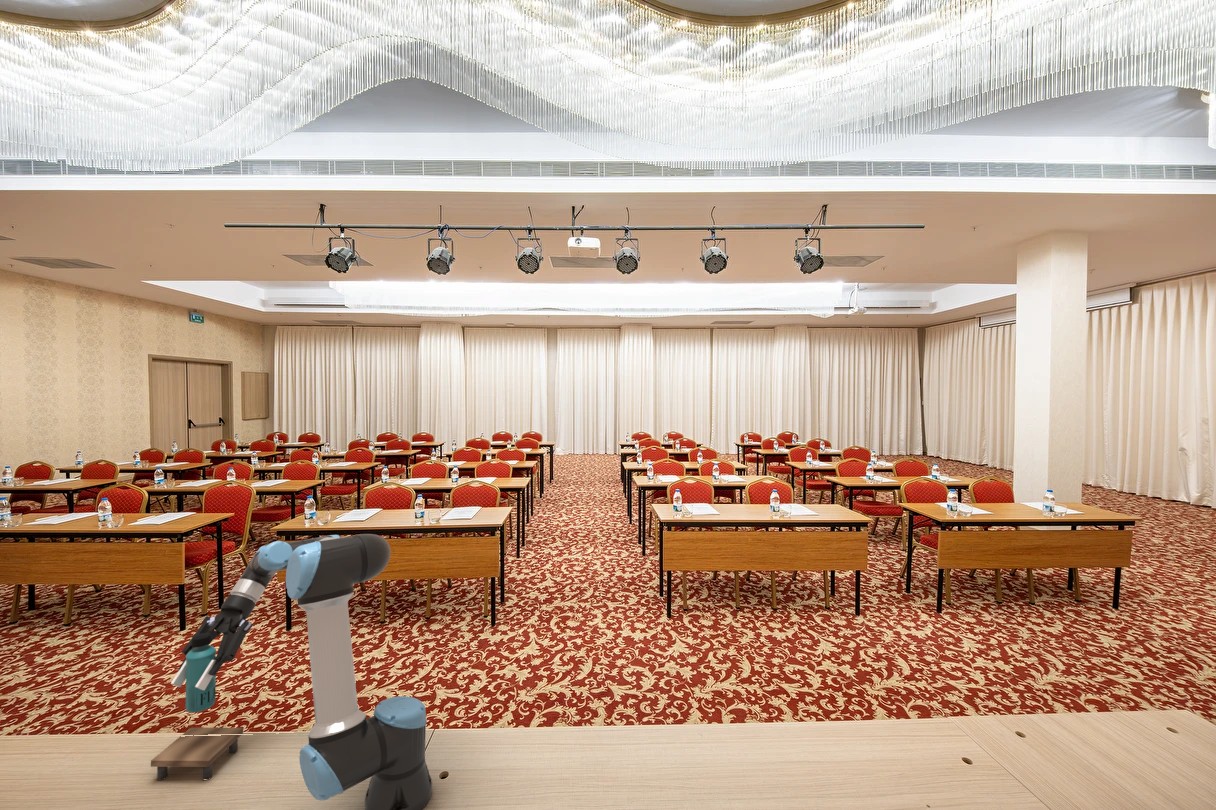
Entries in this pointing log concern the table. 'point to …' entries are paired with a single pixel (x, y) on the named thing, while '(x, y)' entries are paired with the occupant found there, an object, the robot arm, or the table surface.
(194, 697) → the beverage bottle
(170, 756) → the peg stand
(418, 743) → the robot arm
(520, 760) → the table surface
